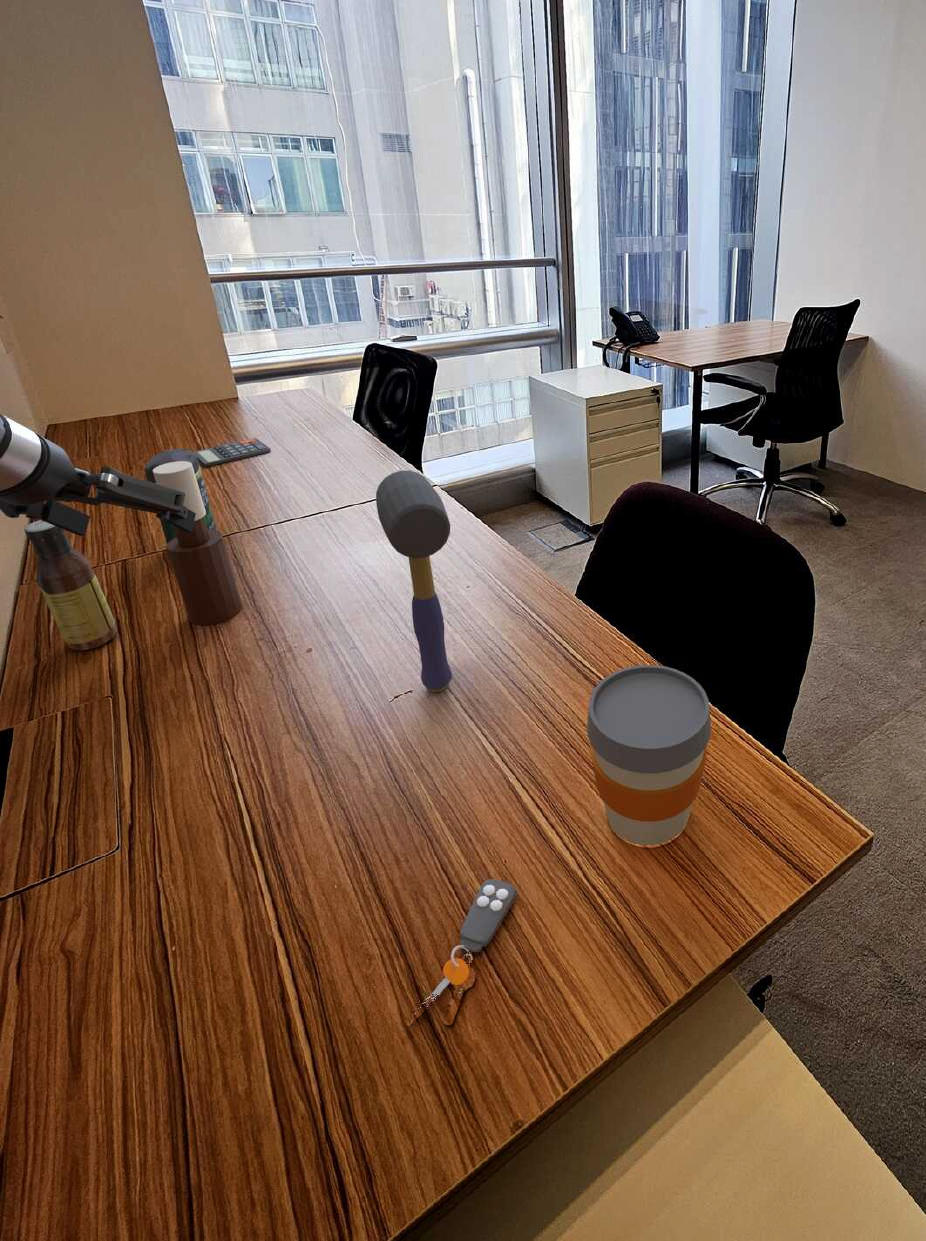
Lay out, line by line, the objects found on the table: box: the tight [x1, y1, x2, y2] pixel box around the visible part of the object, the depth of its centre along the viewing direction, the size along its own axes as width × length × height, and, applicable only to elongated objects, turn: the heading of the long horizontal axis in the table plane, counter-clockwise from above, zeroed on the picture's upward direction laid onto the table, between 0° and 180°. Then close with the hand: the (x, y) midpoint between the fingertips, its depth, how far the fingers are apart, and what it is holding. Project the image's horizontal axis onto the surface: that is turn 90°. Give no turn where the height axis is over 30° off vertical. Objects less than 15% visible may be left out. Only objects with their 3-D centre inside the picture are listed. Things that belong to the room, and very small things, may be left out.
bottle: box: [165, 517, 243, 626], centre depth 104 cm, size 7×7×17 cm
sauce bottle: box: [24, 519, 118, 651], centre depth 97 cm, size 7×6×20 cm
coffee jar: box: [143, 448, 219, 544], centre depth 124 cm, size 10×8×19 cm
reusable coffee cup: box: [586, 664, 712, 845], centre depth 70 cm, size 13×13×15 cm
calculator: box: [192, 437, 272, 468], centre depth 172 cm, size 12×1×15 cm
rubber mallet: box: [375, 470, 453, 693], centre depth 86 cm, size 12×8×30 cm, turn 27°
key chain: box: [414, 878, 517, 1014], centre depth 59 cm, size 13×4×2 cm, turn 163°
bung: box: [153, 461, 206, 521], centre depth 100 cm, size 5×5×10 cm
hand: (138, 524), depth 90 cm, fingers open, 13 cm apart
